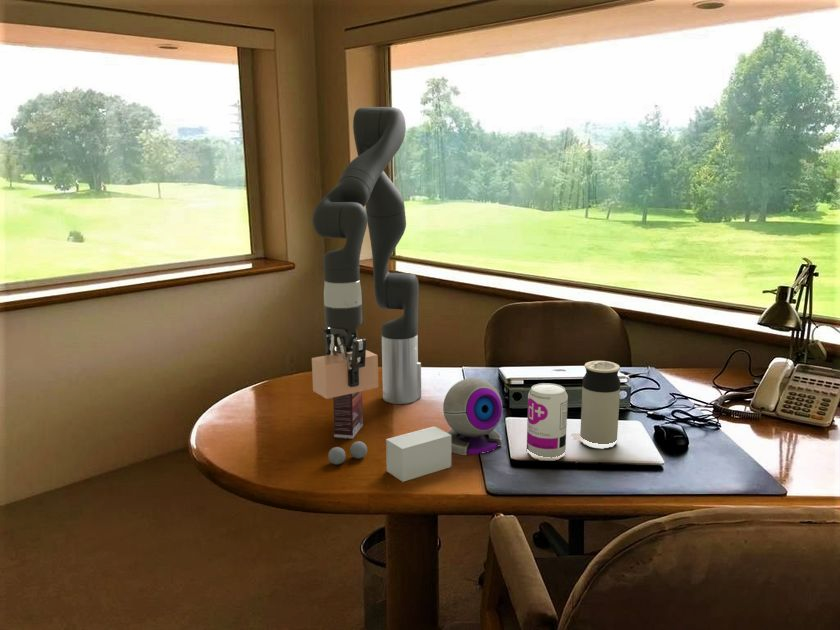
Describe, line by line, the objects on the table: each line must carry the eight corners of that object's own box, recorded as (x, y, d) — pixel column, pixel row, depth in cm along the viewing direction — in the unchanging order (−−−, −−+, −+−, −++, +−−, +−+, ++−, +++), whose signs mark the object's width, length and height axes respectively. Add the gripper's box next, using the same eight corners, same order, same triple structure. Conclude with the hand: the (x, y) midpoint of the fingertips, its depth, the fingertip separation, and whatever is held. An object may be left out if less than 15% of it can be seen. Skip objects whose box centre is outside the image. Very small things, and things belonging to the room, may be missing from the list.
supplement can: (542, 466, 152) (544, 397, 148) (519, 451, 159) (520, 385, 155) (573, 458, 155) (576, 391, 152) (549, 444, 162) (551, 380, 159)
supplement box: (353, 439, 166) (351, 372, 162) (333, 438, 167) (330, 371, 163) (364, 425, 174) (362, 361, 171) (344, 424, 175) (342, 360, 172)
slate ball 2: (361, 452, 159) (361, 437, 158) (370, 458, 156) (370, 442, 155) (347, 456, 157) (346, 441, 156) (355, 462, 154) (355, 446, 153)
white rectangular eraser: (434, 456, 157) (434, 426, 155) (451, 466, 152) (451, 435, 150) (386, 471, 150) (386, 439, 148) (402, 481, 145) (402, 448, 144)
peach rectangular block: (363, 379, 157) (363, 348, 156) (378, 387, 152) (377, 355, 151) (313, 390, 151) (311, 358, 149) (326, 399, 146) (325, 365, 144)
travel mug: (623, 442, 163) (627, 365, 159) (605, 453, 158) (609, 373, 154) (591, 433, 169) (595, 358, 164) (573, 443, 163) (576, 365, 159)
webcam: (462, 460, 155) (463, 392, 152) (432, 439, 166) (432, 376, 162) (512, 447, 161) (514, 382, 158) (480, 428, 172) (481, 367, 168)
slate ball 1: (340, 458, 156) (340, 442, 155) (348, 464, 153) (348, 448, 152) (325, 462, 154) (324, 446, 153) (333, 468, 151) (333, 452, 150)
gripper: (377, 306, 144) (379, 387, 147) (342, 294, 155) (344, 370, 159) (343, 311, 139) (346, 395, 143) (310, 298, 151) (313, 376, 155)
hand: (345, 381), depth 151 cm, fingers closed on peach rectangular block, 6 cm apart
